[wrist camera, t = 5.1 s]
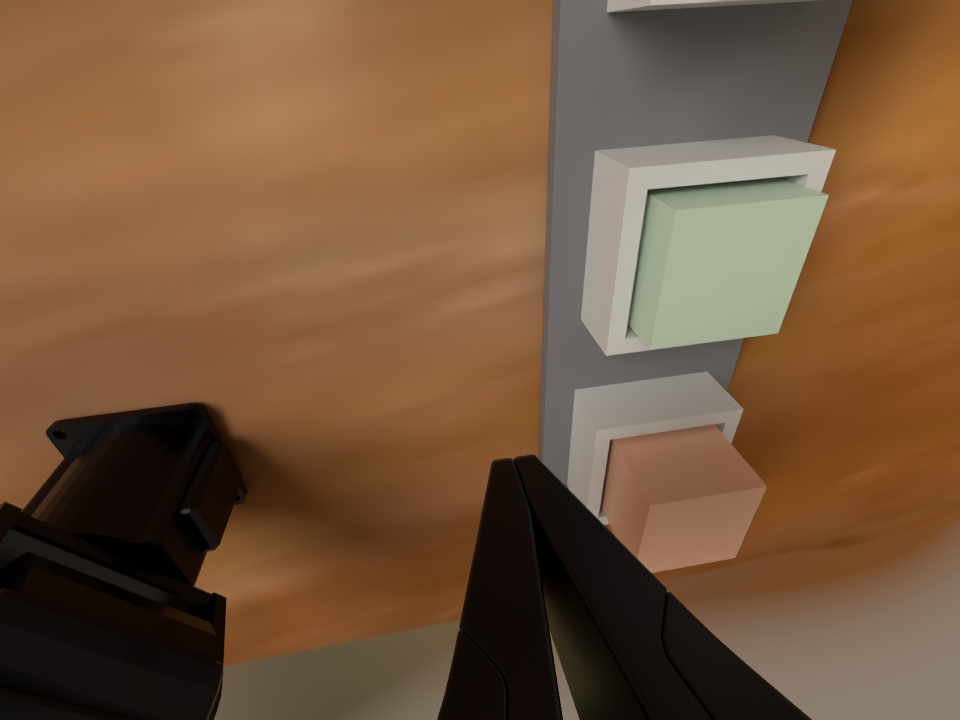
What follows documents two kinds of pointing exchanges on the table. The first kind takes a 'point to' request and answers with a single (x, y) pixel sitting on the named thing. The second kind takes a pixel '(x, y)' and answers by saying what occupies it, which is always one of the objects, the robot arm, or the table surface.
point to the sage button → (720, 259)
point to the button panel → (652, 165)
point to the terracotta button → (680, 497)
